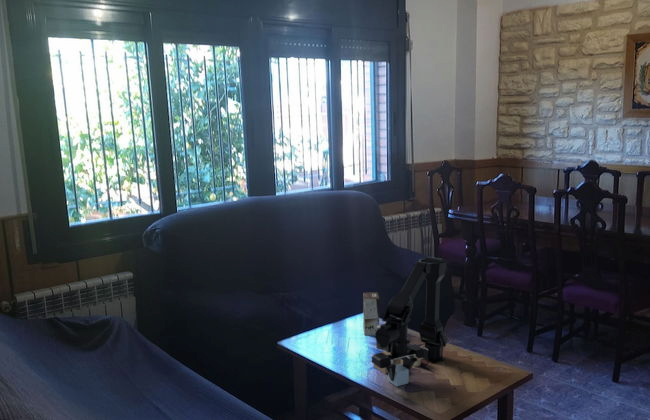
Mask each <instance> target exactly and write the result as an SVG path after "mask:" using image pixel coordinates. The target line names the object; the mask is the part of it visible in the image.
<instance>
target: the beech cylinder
mask: <svg viewBox="0 0 650 420" xmlns="http://www.w3.org/2000/svg"><path fill="white" fill-rule="evenodd" d="M415 358H416V359H417V361H416V362H415V363H414V365H413V366H412V367H420V366H421V364H422V358H417V357H416V354H415Z"/></svg>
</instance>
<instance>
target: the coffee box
mask: <svg viewBox="0 0 650 420" xmlns="http://www.w3.org/2000/svg"><path fill="white" fill-rule="evenodd" d="M379 295H380V294H379V292H377V291H375V292H371V291H369V292H363V303H362V305H363V315H362V316H363V317H362V319H363V323H362V325H363V335H364V336H375V334H376V327H377V326H379V325H380V296H379Z"/></svg>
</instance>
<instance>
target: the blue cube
mask: <svg viewBox="0 0 650 420" xmlns="http://www.w3.org/2000/svg"><path fill="white" fill-rule="evenodd" d="M409 373H410V371H409V369H407V368H406V367H404V366H403V364H402V363H401V364H398V365H396V369H395V376H394V380H393V381H391V380H390V377H389V374H387V382H389V383H391V384H392V385H394V386H395V387H400V386H403V385H407V384H409V381H410V380H409V377H410V374H409Z"/></svg>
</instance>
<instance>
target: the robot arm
mask: <svg viewBox="0 0 650 420" xmlns="http://www.w3.org/2000/svg"><path fill="white" fill-rule="evenodd" d="M446 270H447V263H446V260H444V259H443V258H439V257H433V256H426V257H425V258H422V259H418V261H417V260H416V261H415V262H414V264H413V269H412V270H411V272H410V274H409V276H408V278H407V280H406V282H405V283H404V285H403V287H402V288H401V291H399V292H398V293H397V294H395V295H394V296H393V297H392V298H391V299H390V300H389V302H388V304H387V305H386V306H387V307H386V308H385V311H384V313H383V316H382V317H383V318H382V319H381V320H382V322H384V323H382V324H380V325H381V326H380V329H378V330H377V331H376V334H375V335H374V336H375V337H374V338H375V340H376V341H377V343H375V345H376V344H377V349H380V350H381V351H383V350H384V351H387V352H388V353H389V352H390V355H385V354H383V353H381V352H378V354H377V353H374V354H373V355H372V356H371V363H372V364H373V365H374V364H375V365H377V366H378V367H379V368H385V367H386V369H387V372H388V374H389V377H390V380H391V381H393V380H394V376H395V369H396V365H394V364H393V361H394V360H395V359H399V358H401V360H402V366H404V367H406V368H407V369H409V372H410V371H411V369H412V367H414V366H413V365H414V363H415V362H416V361H417V359H416V358H415V354H416V357H417V358H421V359H424V360H425V361H428V362H430V363H431V364H435V363H437V362H442V361H445V360H446V357H444V356H443V355H444V354H443V353H444V348H445V347H446V346H447V344H448V337H447V336H446V334H445V333H444V325H443V323H442V321H441V320H440V299H441V298H440V295H441V294H440V293H441V281H442V280H443V278H444V276H446ZM424 280H426V287H425V288H426V290H425V291H426V292H425V316H424V317H425V318H424V320H423V321H422V323H420V325H419V337H420V342H421V343H424V347H421V346H419V345H417V344H416V343H414V344H411V345H410V343H411V341H410V340H409V339H408V332H409V331H408V330H409V329H408V327H409V325H408V323H409V322H411V318H410V317H411V314H413V313H412V311H413V309H414V302H413V301H414V299H415V297H416V295H417V293H418V291H419V290H420V288H421V286H422V284H423V282H424ZM385 322H386V323H385ZM408 344H409V345H408ZM388 374H387V375H388Z"/></svg>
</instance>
